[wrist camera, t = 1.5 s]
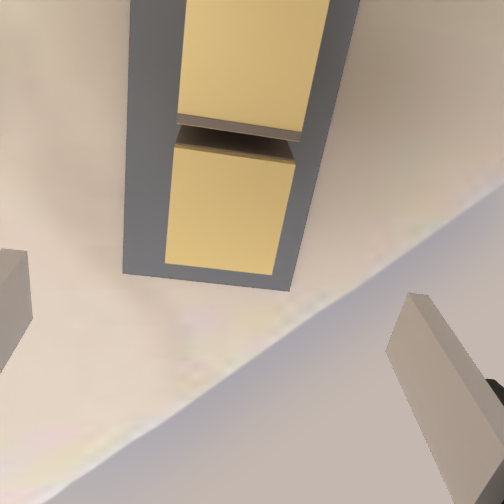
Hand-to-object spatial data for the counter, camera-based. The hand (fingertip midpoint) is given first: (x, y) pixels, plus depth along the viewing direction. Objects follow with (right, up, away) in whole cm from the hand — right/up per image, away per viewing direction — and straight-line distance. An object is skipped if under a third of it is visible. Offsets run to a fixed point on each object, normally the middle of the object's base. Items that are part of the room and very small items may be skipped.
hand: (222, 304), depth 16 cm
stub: (-1, +9, +16) cm, 19 cm away
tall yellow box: (+1, +17, +13) cm, 21 cm away
